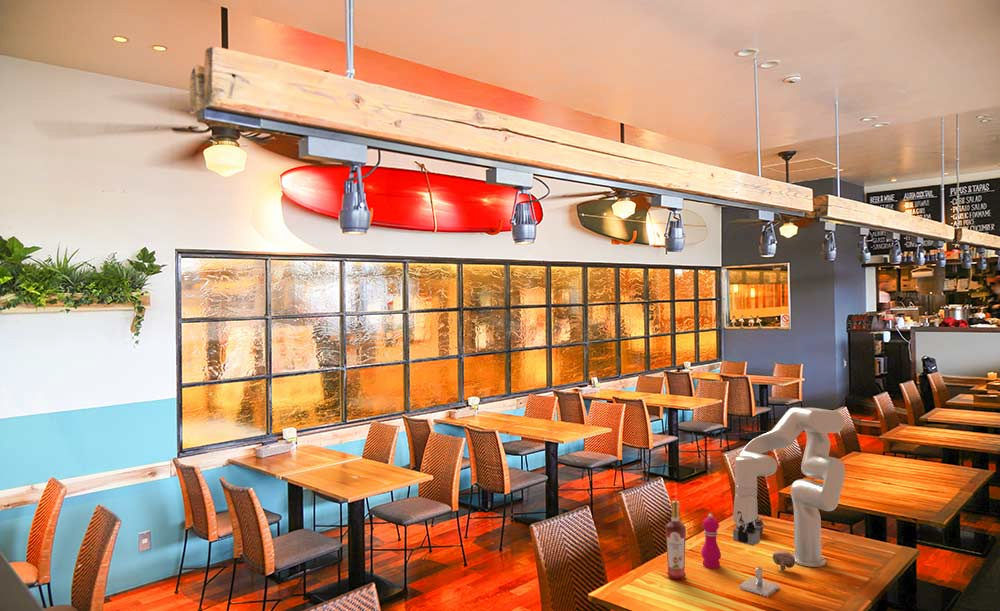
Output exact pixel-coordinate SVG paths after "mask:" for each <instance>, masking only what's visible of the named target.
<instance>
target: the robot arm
mask: <svg viewBox="0 0 1000 611" xmlns="http://www.w3.org/2000/svg"><path fill="white" fill-rule="evenodd" d="M844 427H845V418H844V416H843V414H841V412H839V411H836V410H832V409H831V410H830V409H825V408H817V407H799V406H793V407H791V408H789V409H787V410H786V412H785V413H784V414H783V415H782V417H781V418H780V419H779V420H778V422H777V423H776V424H775V425H774V427H773V428H772V429H771V430H769V431H768V432H766V433H762V434H760V435H759V436H756V437H755V438H753V439H752V440H750V441H749V442H748V443H747V444H746V445H745V446H744V447H743V449H742V450H741V452H740V453H739V456H736V457H735V460H734V486H735V488H734V490H735V491H734V492H735V494H734V495H735V496H734V502H733V515H732V516H733V522H734V525H735V527H736V528H737V530H738V541H740V542H743V543H742V544H744V543H747V532H746V528H749V529H753V530H755V527H756V524H755V523H756V519H757V517H758V516H759V515H758V511H759V510H758V509H759V508H758V498H757V496H758V477H770V476H772V475H774V474H775V473H776V472H777V471H778V470H777V469H778V462H777V460H776V459H775V458H773V456H770V455H768V454H764V453H767V452H769V451H774V450H781V449H787V448H788V447H791V446H792V445H793V443H794V442H795V441H796V439H797V438H798V437H799V436H800V435H801V433H802V432H803V431H804V432H805V435H806V444H805V448H804V452H803V456H802V460H801V466H800V467H801V468H800V470H801V473H802V474H803V475H805V476H806V477H809V478H812V479H816V480H821V481H822V482H823V483H820V482H817V481H813V480H810V479H809V480H808V479H804V478H803V479H802V478H800V479H799V478H798V479H797V480H796V479H795V481H793V482H792V484H791V487H790V497H791V500H792V506H793V524H794V525H793V532H794V533H793V536H794V538H793V540H794V543H793V544H794V547H793V548H794V552H793V553H791V554H792V555H793V557H794V558H795V564H797V565H800V566H804V567H809V568H819V567H824V566H826V564H827V560H826V558H824V557H823V556H822V550H823V547H822V529H821V528H822V524H821V523H822V520H821V519H822V518H821V514H820V511H819V510H822V511H826V512H832V511H835V509H836V508H838V507H837V506H838V505H839V502H840V499H841V494H842V489H843V485H844V483H845V482H844V481H845V477H846V470H845V464H844V463H843V462H842V461H841V459H839V458H836V457H834V456H833V457H832V456H830V449H831V440H830V437H829V435H828V434H837V433H839V432H841V431H842V430H843V429H844ZM741 521H744V522H741ZM741 524H743V525H744V527H743V526H742V525H741ZM747 525H748V526H747ZM740 542H739V543H740Z"/></svg>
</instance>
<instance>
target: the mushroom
mask: <svg viewBox="0 0 1000 611" xmlns="http://www.w3.org/2000/svg"><path fill="white" fill-rule="evenodd" d="M792 554H793V553H791V552H789V551H786V550H776V551H774V552H773V554H772V559H773V560H772V561H773V562H774V564H776V565H777V566H779V567H780V568H779V569H780V571H781V572H784V571H785V570H786V568H788V569H791V568H793V567H794V566H795V565H796V563H795V558H794V557H793V555H792Z"/></svg>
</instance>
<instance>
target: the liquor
mask: <svg viewBox="0 0 1000 611" xmlns="http://www.w3.org/2000/svg"><path fill="white" fill-rule="evenodd" d="M670 504H671V509H672V510H671V521H669V522H668V523H666V524H665V541H666V542H665V543H666V554H667V571H666V575H667V576H668V577H669V578H670V579H671V578H672V580H675V581H679V580H682V579H684V578H685V577H686V576H687V573H686V572H685V570H686V569H685V567H686V566H685V562H686V557H685V556H686V534H687V533H686V530H687V529H686V528H687V527H686V525H684V524H683V523H682V522H680V513H679V509H680V501H678V500H671V503H670Z"/></svg>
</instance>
